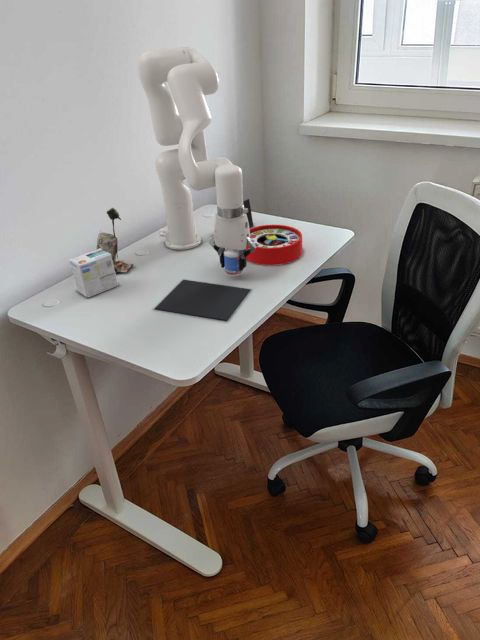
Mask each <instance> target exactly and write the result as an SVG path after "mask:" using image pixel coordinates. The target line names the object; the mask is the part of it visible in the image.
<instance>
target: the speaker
mask: <svg viewBox="0 0 480 640" xmlns="http://www.w3.org/2000/svg"><path fill="white" fill-rule="evenodd" d="M243 204H244V208H247V209H248V213H244V214H246V215H247V218H248V223H249V229H251V228H254V227H255V226H254V219H253V215H252V214H253V213H252V208H251V202H250V199H249V198H247V199H245V200H243Z"/></svg>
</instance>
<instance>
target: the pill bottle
mask: <svg viewBox="0 0 480 640" xmlns="http://www.w3.org/2000/svg"><path fill="white" fill-rule="evenodd" d="M240 258H241V256H240V253H239V251H238V250H236V249H230V248H225V251H224V264H225V267H224V273H225V275H226V276H229V277H238V276H240V275H241V274H242V273H243V270H242V271H240V263H239V259H240Z"/></svg>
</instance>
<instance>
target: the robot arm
mask: <svg viewBox="0 0 480 640" xmlns="http://www.w3.org/2000/svg"><path fill="white" fill-rule="evenodd" d="M137 73H138V77H139V81H140V85H141V86H142V88H143V90H144V92H145V95H146V98H147V101H148V106H149V113H150V117H151V123H152V127H153V133H154V137H155V140H156V142H157V144H158V145H160V146H163V147H169V146H176V145H177V146H178V147H177V148H173V149H169V150H164V151H162V152H160V153H158V155H157V156H156V158H155V162H154V165H155V170H156V174H157V176H158V179H159V183H160V187H161V192H162V198H163V205H164V213H165V219H166V227H167V229H166V228H160V229H159V237H165V241H164V243H165V246H166V247H167V248H168V249H171V250H174V251H175V250H176V251H184V250H185V251H186V250H190V249H193V248H196V247H198V246H199V245H200V244H201V243H202V238H201V236H200V235H199V234H197V231H196V222H195V214H194V205H193V196H192V191H191V190H193V191H196V192H197V191H204V190H207V189H212V188H215V195H216V210H217V211H216V212H217V213H216V214H215V218H214V228H213V236H212V237H211V238H210V239H209V241H208V244H209V245H210V246H211V248H213V249H214V251H215V252H216V253H217V255H218V256H219V264H220V266H221V268H222V269H225V264H224V251H225V249H226V248H230V249H236V250H238V251H239V253H240V256H241V258H240V259H239V263H240V271H242V272H243V271H244V269H245V268H246V267H247V263H248V262H247V261H248V260H247V259H246V257H247V256H248V255H249V254H250V253H251V252H253V251H254V250H255V249H256V248H257V247H256V245H255V244H254V243H253V242H252V241H251V239H250V229H251V228H250V229H249V223H248V218H247V215H246V214H244V213H248V209H247V208H244V204H243V201H244V189H243V188H244V186H243V183H244V182H243V171H242V168H241V167H240V166H238V165H236V164H233V163H232V162H231V160H230V159H229V158H227V157H221V156H220V157H215V158H210V159H209V154H208V153H209V152H208V147H207V139H206V133H205V132H206V131H205V129H206V128H207V127H209V126H210V124H211V123H212V120H213V118H212V114H211V112H210V109H209V106H208V103H207V100H206V96H210V95H214V94H216V92H217V91H218V90H219V86H220V80H219V74H218V72H217V69H216V67H214V65H213V64H212V62H211V61H210V60H209V59H208V58H206V56H204V55H203V54H202V53H200V52H199V51H198V50H197V49H195V48H193V47H190V46H179V47H169V48H168V47H167V48H156V49H152V50H147V51H145V52H143V53H142V54H140V55H139V57H138V60H137ZM184 180H185V181H186V183H187V184H185V182H184ZM187 185H188V186H187ZM190 188H191V189H190ZM246 245H248V246H249V247H250V248H249V249H248V250H246Z"/></svg>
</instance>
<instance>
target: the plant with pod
mask: <svg viewBox="0 0 480 640" xmlns="http://www.w3.org/2000/svg"><path fill="white" fill-rule="evenodd" d="M106 214H107V216H108V218H109V219H110V220H111V222H112V223H111V224H112V233H113V234H112V233H107V232H104V231H100V232H99V233H98V236H97V240H96V250H97V249H99V248H100V249H102V250H104V251H106V252H108V253H110V254H111V256H112V261H113V265H114V270H115V274H116V273H127V272H128V271H129V269H131V268H132V267H133V266H134V264H133V263H126V262H125V261H124V260H119V255H118V247H119V246H118V237H117V236H116V233H115V220H117V219H118V220H120V221H122V218H121V217H120V213H119V212H118V211H117V209H116V208H114V207H111V208H109V209H108V210H106Z"/></svg>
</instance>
